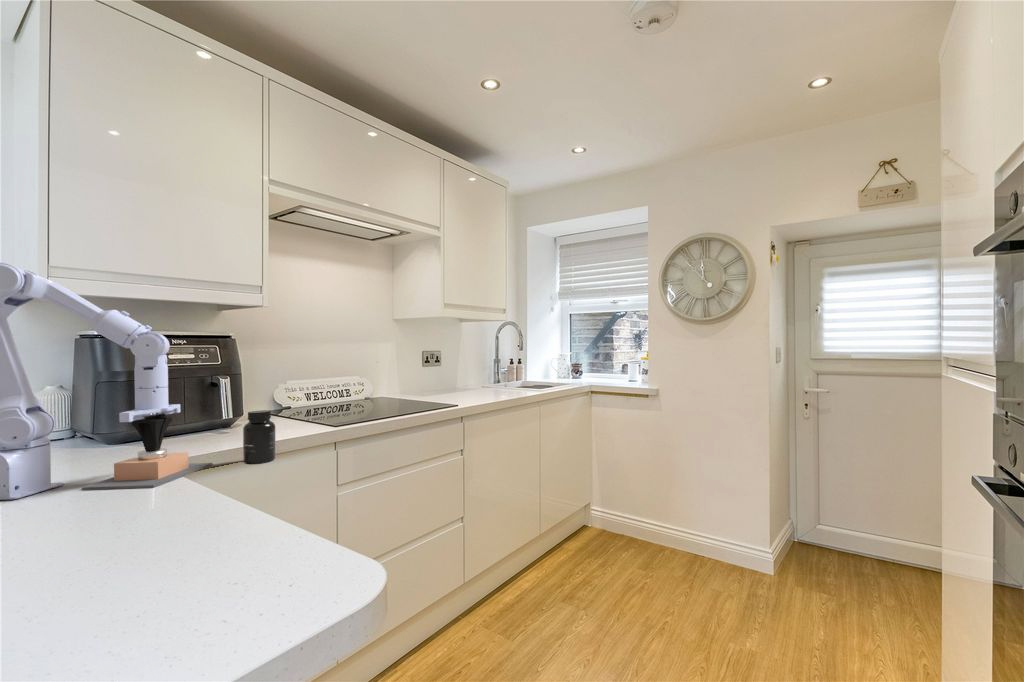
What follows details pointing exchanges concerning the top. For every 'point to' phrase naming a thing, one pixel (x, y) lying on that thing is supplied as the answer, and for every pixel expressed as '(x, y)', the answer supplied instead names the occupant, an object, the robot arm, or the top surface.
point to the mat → (145, 483)
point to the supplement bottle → (259, 438)
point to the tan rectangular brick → (150, 467)
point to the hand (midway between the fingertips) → (152, 451)
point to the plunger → (152, 454)
